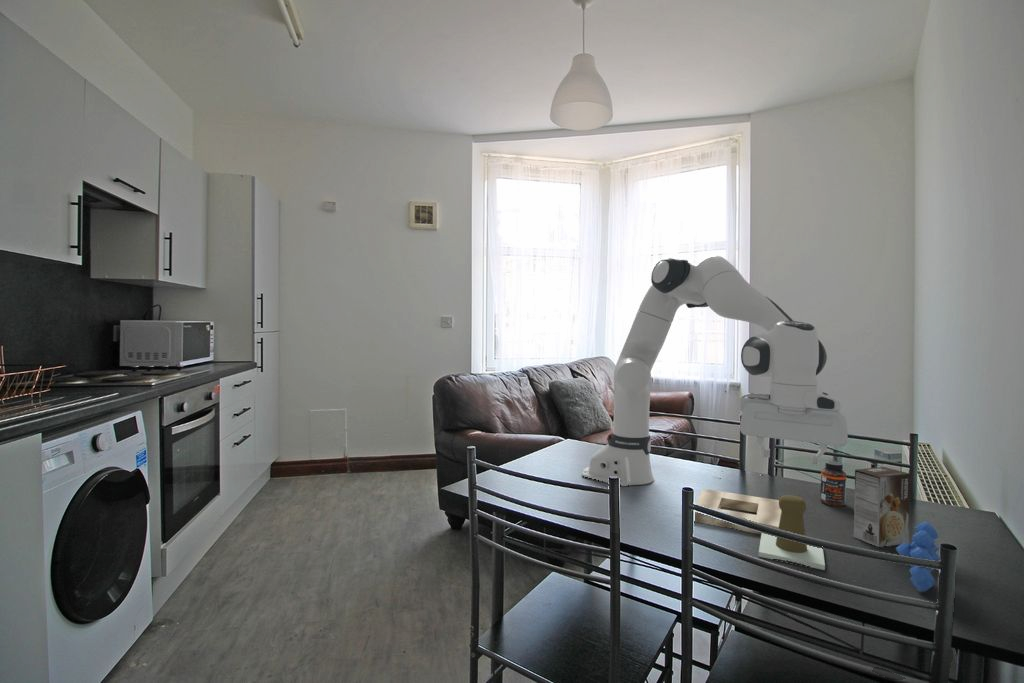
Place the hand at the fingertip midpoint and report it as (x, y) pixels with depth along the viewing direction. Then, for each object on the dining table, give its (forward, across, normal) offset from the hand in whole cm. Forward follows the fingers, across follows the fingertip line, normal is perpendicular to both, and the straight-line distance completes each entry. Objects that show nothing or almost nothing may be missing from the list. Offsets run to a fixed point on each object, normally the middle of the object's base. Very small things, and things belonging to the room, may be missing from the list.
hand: (790, 460), depth 109 cm
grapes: (+20, +22, -3) cm, 30 cm away
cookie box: (+20, +19, +18) cm, 33 cm away
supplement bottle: (+20, +10, +41) cm, 47 cm away
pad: (+20, +1, +1) cm, 20 cm away
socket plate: (+20, -11, +18) cm, 29 cm away
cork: (+19, +1, +1) cm, 19 cm away
